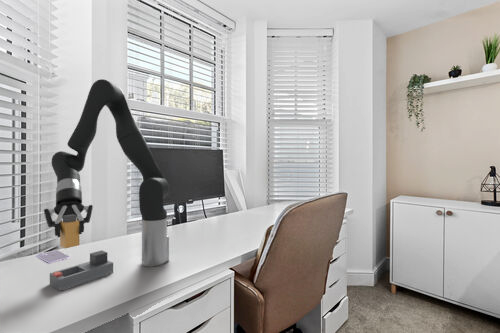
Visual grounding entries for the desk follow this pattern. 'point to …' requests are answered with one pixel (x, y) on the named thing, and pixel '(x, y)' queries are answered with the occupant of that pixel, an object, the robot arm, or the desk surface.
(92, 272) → the power strip
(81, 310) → the desk surface
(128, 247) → the desk surface
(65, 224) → the adapter plug
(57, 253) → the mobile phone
